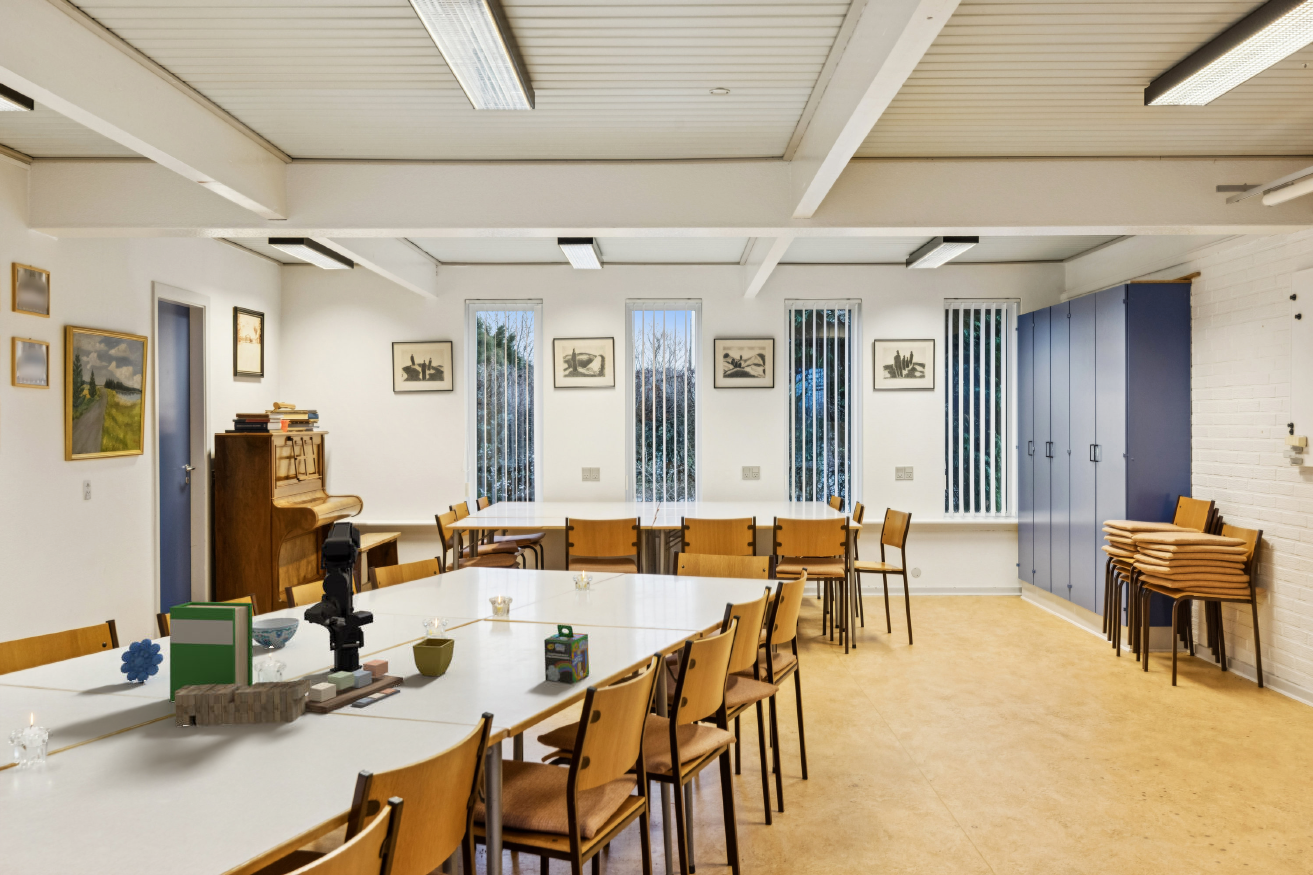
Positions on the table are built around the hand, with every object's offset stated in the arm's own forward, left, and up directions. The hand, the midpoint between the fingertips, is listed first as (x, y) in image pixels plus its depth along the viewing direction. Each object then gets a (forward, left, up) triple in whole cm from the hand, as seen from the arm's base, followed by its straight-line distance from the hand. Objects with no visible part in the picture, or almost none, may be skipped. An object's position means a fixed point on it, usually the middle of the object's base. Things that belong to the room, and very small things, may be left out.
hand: (338, 649), depth 197 cm
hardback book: (-31, -13, -13) cm, 36 cm away
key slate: (0, +6, -11) cm, 12 cm away
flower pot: (+8, +26, -13) cm, 30 cm away
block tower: (-10, -20, -13) cm, 26 cm away
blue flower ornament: (-63, -10, -13) cm, 65 cm away
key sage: (0, 0, -9) cm, 9 cm away
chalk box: (+45, +37, -13) cm, 60 cm away
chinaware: (-62, +31, -13) cm, 70 cm away
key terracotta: (0, +12, -9) cm, 16 cm away
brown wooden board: (0, +3, -12) cm, 13 cm away
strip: (+9, +3, -12) cm, 16 cm away
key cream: (0, -6, -11) cm, 12 cm away
